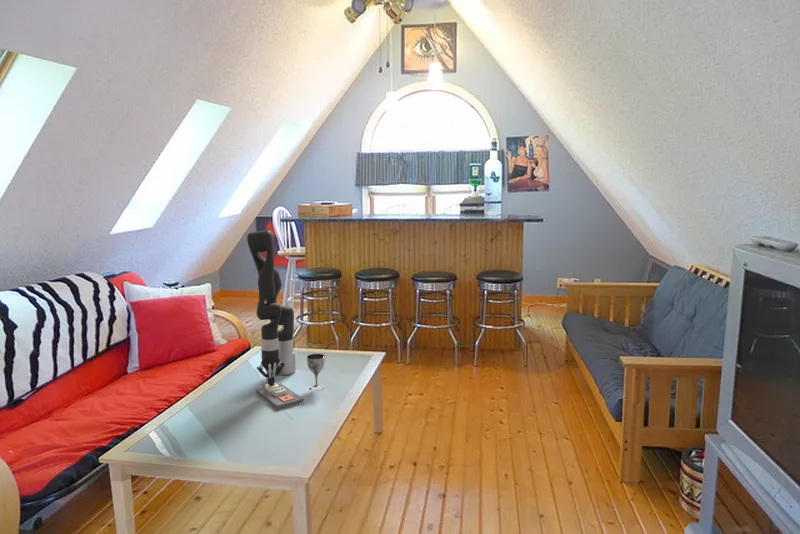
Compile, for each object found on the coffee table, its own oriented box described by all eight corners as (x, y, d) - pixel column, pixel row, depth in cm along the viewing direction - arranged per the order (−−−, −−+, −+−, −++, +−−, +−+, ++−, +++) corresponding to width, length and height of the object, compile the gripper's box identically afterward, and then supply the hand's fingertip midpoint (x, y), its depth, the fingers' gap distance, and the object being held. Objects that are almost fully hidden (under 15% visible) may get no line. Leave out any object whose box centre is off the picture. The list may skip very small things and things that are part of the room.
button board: (280, 387, 255) (280, 383, 254) (303, 403, 237) (303, 398, 237) (256, 393, 247) (255, 389, 247) (277, 410, 230) (277, 405, 230)
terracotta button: (289, 399, 240) (288, 394, 240) (294, 403, 236) (293, 397, 236) (278, 402, 237) (278, 396, 237) (283, 406, 234) (283, 400, 233)
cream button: (275, 387, 251) (274, 382, 251) (279, 390, 247) (279, 385, 247) (265, 390, 248) (264, 384, 248) (269, 393, 244) (269, 387, 244)
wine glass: (304, 389, 252) (303, 357, 250) (313, 383, 260) (312, 352, 257) (319, 392, 249) (319, 360, 247) (328, 385, 257) (327, 354, 254)
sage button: (281, 392, 245) (281, 386, 245) (286, 395, 242) (286, 389, 241) (271, 394, 243) (271, 389, 242) (276, 398, 239) (276, 392, 238)
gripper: (280, 343, 251) (281, 379, 254) (252, 348, 243) (253, 385, 246) (287, 347, 245) (288, 384, 248) (259, 352, 237) (260, 391, 240)
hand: (271, 385), depth 247 cm, fingers closed
